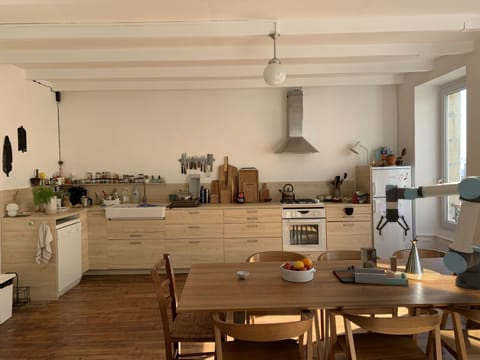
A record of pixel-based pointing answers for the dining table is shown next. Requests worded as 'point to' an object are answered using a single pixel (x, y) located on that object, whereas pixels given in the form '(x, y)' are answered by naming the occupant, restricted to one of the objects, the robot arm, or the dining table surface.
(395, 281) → the chute tray
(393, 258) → the brown block with tab
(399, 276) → the cream cube
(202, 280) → the dining table surface
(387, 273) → the peach cube block
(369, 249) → the coffee box
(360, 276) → the slot board
